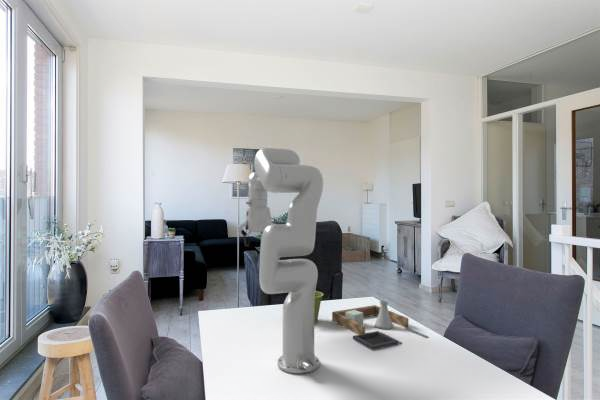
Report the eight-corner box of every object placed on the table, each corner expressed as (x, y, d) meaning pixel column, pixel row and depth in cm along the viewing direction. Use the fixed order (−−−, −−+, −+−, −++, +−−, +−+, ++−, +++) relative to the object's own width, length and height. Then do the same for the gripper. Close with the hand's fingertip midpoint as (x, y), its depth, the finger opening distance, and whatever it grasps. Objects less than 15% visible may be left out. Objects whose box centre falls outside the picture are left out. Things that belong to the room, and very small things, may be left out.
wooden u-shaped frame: (408, 327, 145) (408, 318, 145) (362, 336, 135) (362, 327, 135) (375, 313, 164) (375, 305, 164) (332, 320, 154) (332, 311, 154)
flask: (388, 331, 141) (388, 304, 141) (371, 327, 146) (371, 301, 146) (396, 326, 147) (396, 300, 147) (379, 322, 151) (379, 297, 151)
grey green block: (363, 325, 148) (363, 312, 148) (354, 328, 145) (354, 315, 145) (354, 322, 152) (354, 309, 152) (345, 324, 149) (345, 312, 149)
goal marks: (428, 337, 135) (428, 336, 135) (399, 344, 129) (399, 342, 129) (406, 328, 144) (406, 327, 144) (379, 333, 138) (379, 332, 138)
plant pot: (324, 326, 147) (324, 297, 147) (293, 326, 147) (293, 297, 147) (322, 316, 158) (322, 290, 158) (294, 316, 159) (294, 290, 159)
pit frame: (398, 344, 128) (398, 340, 128) (372, 350, 123) (372, 346, 123) (377, 334, 138) (377, 330, 138) (352, 339, 133) (352, 335, 133)
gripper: (242, 203, 145) (242, 248, 145) (281, 203, 154) (281, 245, 154) (234, 203, 151) (234, 246, 151) (271, 203, 161) (271, 243, 161)
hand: (258, 245), depth 153 cm, fingers open, 9 cm apart
